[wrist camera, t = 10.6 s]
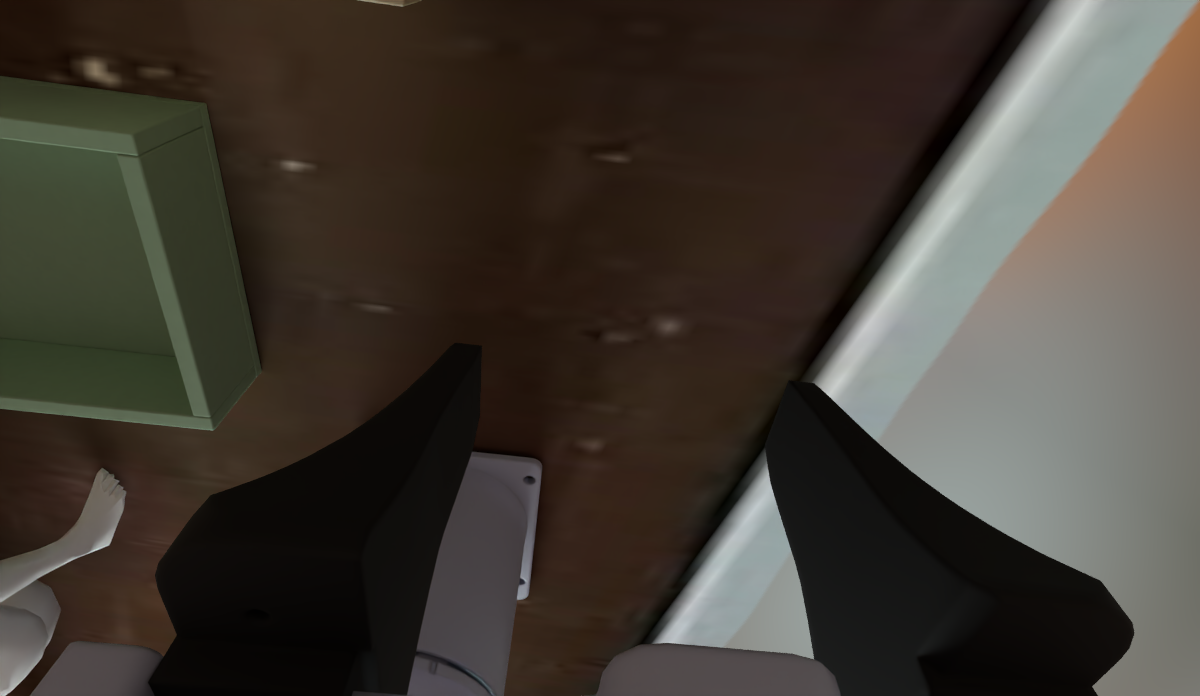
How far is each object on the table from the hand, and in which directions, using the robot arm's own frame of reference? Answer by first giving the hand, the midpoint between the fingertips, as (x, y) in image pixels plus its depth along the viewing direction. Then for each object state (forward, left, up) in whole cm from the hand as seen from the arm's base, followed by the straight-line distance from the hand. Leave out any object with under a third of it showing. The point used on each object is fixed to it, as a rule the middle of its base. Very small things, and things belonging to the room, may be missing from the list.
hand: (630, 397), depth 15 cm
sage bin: (-2, +21, -8) cm, 22 cm away
